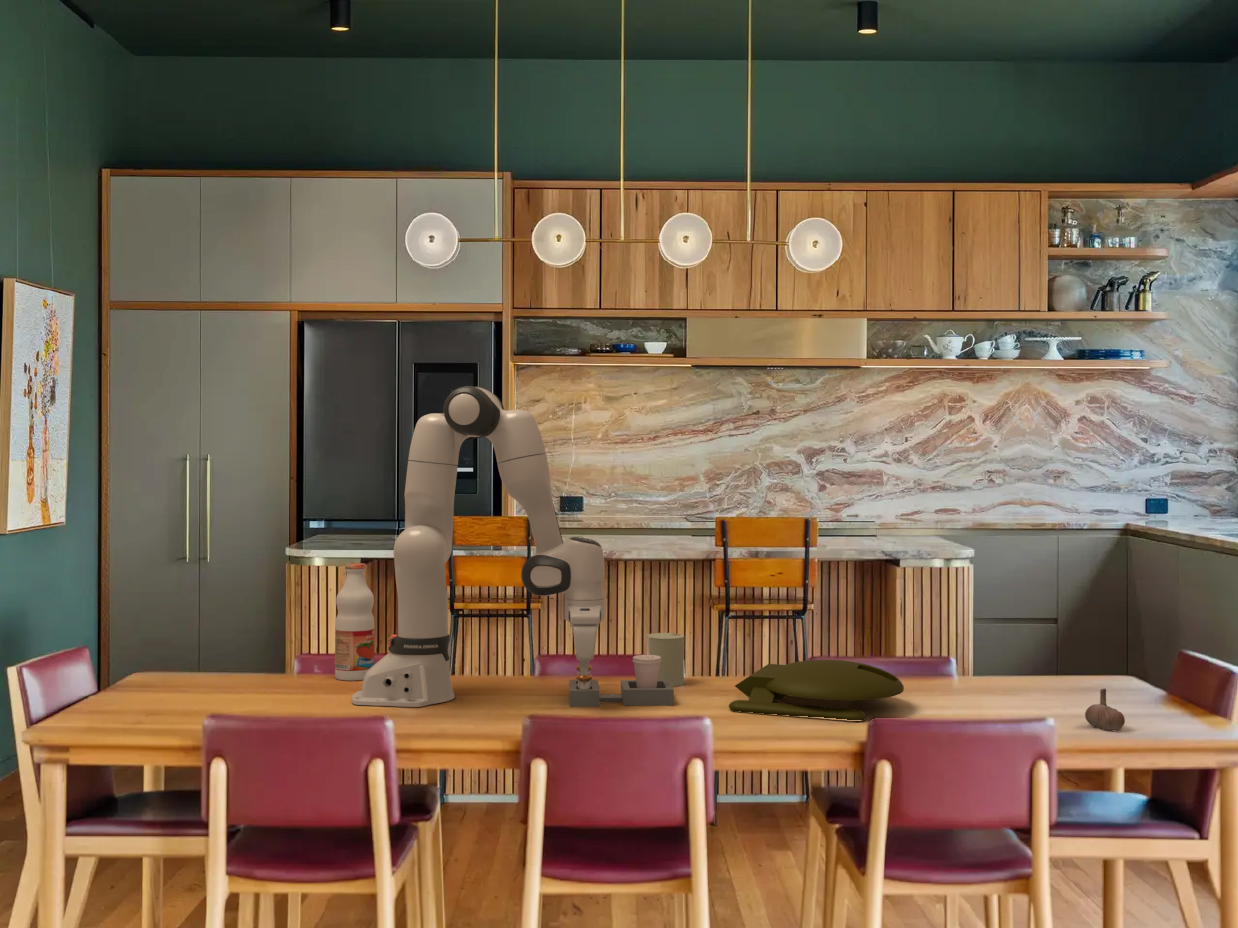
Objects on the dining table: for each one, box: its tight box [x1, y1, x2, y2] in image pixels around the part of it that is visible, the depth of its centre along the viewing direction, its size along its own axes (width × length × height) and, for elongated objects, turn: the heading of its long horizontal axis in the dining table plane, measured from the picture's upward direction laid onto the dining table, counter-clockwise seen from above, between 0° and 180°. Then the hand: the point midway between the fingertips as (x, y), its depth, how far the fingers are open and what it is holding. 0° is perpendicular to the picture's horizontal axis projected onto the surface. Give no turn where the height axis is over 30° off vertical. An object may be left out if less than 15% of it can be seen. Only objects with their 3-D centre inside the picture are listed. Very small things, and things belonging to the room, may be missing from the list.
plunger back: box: [575, 663, 592, 674], centre depth 247 cm, size 3×3×6 cm
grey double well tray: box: [568, 678, 675, 708], centre depth 245 cm, size 23×13×4 cm, turn 93°
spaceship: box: [728, 659, 905, 721], centre depth 242 cm, size 35×31×10 cm
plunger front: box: [576, 673, 593, 689], centre depth 241 cm, size 3×3×6 cm
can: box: [646, 632, 685, 688], centre depth 265 cm, size 9×9×12 cm
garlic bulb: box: [1084, 688, 1126, 731], centre depth 220 cm, size 8×7×8 cm
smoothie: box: [632, 637, 661, 688], centre depth 245 cm, size 6×6×14 cm
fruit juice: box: [334, 562, 376, 682], centre depth 271 cm, size 9×9×28 cm
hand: (584, 674), depth 241 cm, fingers closed
